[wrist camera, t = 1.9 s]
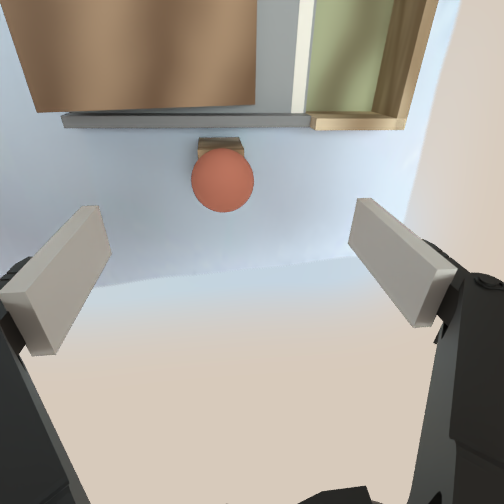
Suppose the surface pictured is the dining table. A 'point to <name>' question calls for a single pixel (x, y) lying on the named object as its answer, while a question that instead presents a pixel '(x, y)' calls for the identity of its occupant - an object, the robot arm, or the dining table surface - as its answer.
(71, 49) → the ramp
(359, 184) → the dining table surface
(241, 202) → the ball
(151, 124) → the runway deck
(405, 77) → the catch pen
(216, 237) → the dining table surface
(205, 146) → the hollow wooden block
